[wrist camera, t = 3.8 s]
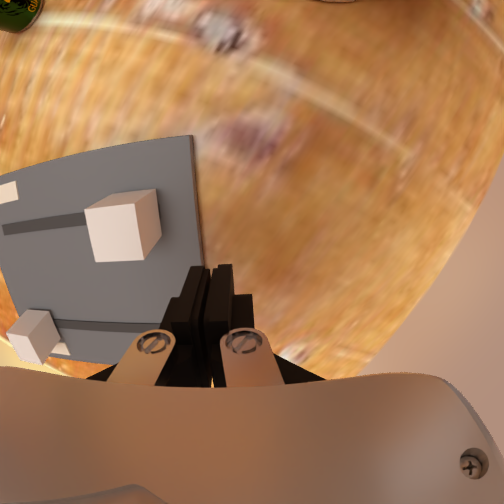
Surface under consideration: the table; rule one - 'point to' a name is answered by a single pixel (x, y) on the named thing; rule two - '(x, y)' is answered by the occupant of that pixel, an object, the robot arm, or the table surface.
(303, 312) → the table surface
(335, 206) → the table surface
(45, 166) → the switch panel
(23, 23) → the beer can
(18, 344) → the slider
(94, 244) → the slider
